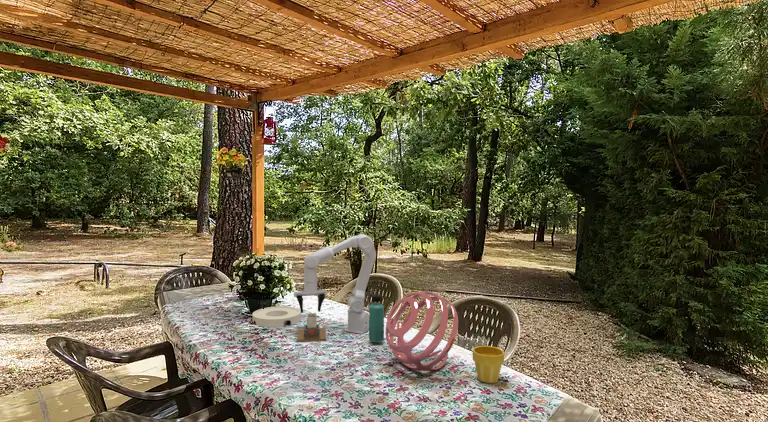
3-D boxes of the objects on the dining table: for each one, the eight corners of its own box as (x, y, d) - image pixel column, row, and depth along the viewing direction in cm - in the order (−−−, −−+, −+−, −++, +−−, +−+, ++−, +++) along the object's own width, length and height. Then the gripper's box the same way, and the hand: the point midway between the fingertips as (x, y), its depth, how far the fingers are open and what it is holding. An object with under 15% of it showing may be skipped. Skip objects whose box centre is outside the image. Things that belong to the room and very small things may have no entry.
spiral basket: (452, 299, 171) (407, 266, 159) (491, 337, 146) (441, 301, 134) (410, 353, 171) (361, 324, 159) (442, 399, 146) (387, 369, 134)
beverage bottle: (382, 346, 171) (383, 298, 170) (366, 345, 172) (367, 297, 172) (385, 341, 177) (386, 294, 177) (370, 339, 179) (370, 293, 178)
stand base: (298, 331, 188) (298, 322, 188) (325, 330, 190) (325, 321, 190) (297, 342, 175) (297, 332, 175) (326, 340, 177) (326, 331, 177)
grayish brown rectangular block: (307, 332, 184) (307, 313, 184) (316, 331, 185) (316, 313, 185) (306, 335, 180) (307, 316, 180) (316, 334, 181) (316, 315, 181)
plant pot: (480, 370, 149) (481, 343, 148) (508, 378, 142) (509, 350, 142) (466, 379, 141) (467, 351, 140) (495, 388, 134) (496, 358, 134)
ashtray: (306, 315, 216) (306, 307, 216) (292, 329, 193) (292, 320, 193) (263, 313, 218) (263, 305, 218) (244, 326, 195) (244, 318, 195)
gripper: (325, 279, 192) (324, 308, 193) (293, 280, 188) (292, 310, 188) (328, 281, 186) (327, 312, 186) (294, 283, 181) (294, 314, 181)
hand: (310, 311), depth 187 cm, fingers open, 7 cm apart
